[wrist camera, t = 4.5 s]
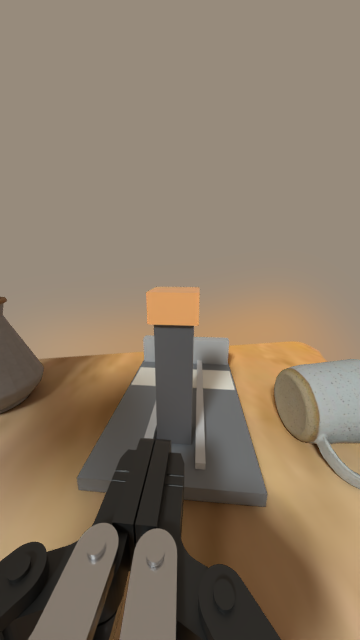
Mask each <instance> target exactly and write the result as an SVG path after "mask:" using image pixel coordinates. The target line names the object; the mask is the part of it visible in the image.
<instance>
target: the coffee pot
mask: <svg viewBox="0 0 360 640" xmlns="http://www.w3.org/2000/svg"><path fill="white" fill-rule="evenodd" d="M6 301H7V299H6V298H5V297H0V413H2V412H4V411H7V410H9V409H11V408H13V407H15V406H16V405H18V404H20V403H21V402H22V401H24V400H25V399H26V398H27V397H28V396H29V394H30V393H31V392H32V391H33V390H34V388H35V387H36V386H37V385H38V383H39V382H40V381H41V378H42V375H43V371H44V368H43V366H42V364H41V362H40V361H39V360H38V359H37V357H36V356H35V355H34V354H33V352H32V351H31V350H30V349H29V347H28V346H27V345H26V344H25V342H24V341H23V340H22V339H21V337H20V336H19V335H18V334H17V333H16V331H15V330H14V329H13V328H12V326H11V325H10V324H9V322H8V321H7V320H6V319H5V317H4V316H3V303H4V302H6Z"/></svg>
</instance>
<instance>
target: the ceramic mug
mask: <svg viewBox="0 0 360 640" xmlns="http://www.w3.org/2000/svg"><path fill="white" fill-rule="evenodd" d="M274 396H275V402H276V406H277V410H278V413H279V416H280V418H281V420H282V422H283V424H284V425H285V427H286V428H287V429H288V431H289V432H290V433H291V434H292V435H293V436H295V437H296V438H297V439H299V440H301V441H304V442H309V443H315V444H317V445H318V447H319V449H320V452H321V454H322V456H323V458H324V459H325V460H326V461H327V463H328V464H329V465H330V467H331V468H332V469H333V470H334V472H335V473H336V474H337V475H339V476H340V477H341V478H342V479H343V480H345V481H346V482H347V483H349V484H350V485H352V486H354V487H356V488H358V489H360V475H359V474H357V473H355V472H353V471H352V470H351V469H349V468H348V467H347V466H346V465H345V464H344V463H343V462H342V461H341V460H340V459H339V457H338V456H337V454H336V453H335V452H334V450H333V449H332V448H331V445H330V444H332V443H360V360H357V359H348V360H340V361H333V362H323V363H316V364H304V365H298V366H293V367H290V368H287V369H284V370H283V371H281V372H280V373H279V375H278V376H277V379H276V382H275V388H274Z"/></svg>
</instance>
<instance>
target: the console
mask: <svg viewBox="0 0 360 640" xmlns="http://www.w3.org/2000/svg"><path fill="white" fill-rule="evenodd" d="M228 350H229V340H228V338H210V337H209V338H208V337H194V348H193V397H192V433H191V445H185V444H171V453H181V455H182V458H183V461H184V463H185V467H184V500H195V501H206V502H217V503H228V504H239V505H250V506H261V507H266V500H267V491H266V488H265V485H264V481H263V478H262V474H261V471H260V468H259V464H258V461H257V458H256V454H255V451H254V448H253V444H252V441H251V438H250V434H249V431H248V428H247V424H246V421H245V417H244V414H243V411H242V407H241V404H240V401H239V397H238V394H237V391H236V387H235V384H234V381H233V377H232V374H231V371H230V367H229V364H228ZM140 438H150V439H157V417H156V382H155V346H154V336H145V337H144V361H143V363H142V364H141V366H140V368H139V370H138V371H137V373H136V375H135V377H134V378H133V380H132V382H131V384H130V385H129V387H128V389H127V391H126V392H125V394H124V396H123V398H122V399H121V401H120V403H119V405H118V406H117V408H116V410H115V412H114V413H113V415H112V417H111V419H110V420H109V422H108V424H107V426H106V427H105V429H104V431H103V433H102V434H101V436H100V438H99V440H98V441H97V443H96V445H95V447H94V449H93V450H92V452H91V454H90V456H89V457H88V459H87V461H86V463H85V464H84V466H83V468H82V470H81V471H80V473H79V475H78V477H77V482H78V489H79V490H86V491H97V492H107V490H108V487H109V485H110V482H111V481H112V477H113V475H114V472H115V470H116V467H117V465H118V462H119V460H120V458H121V457H122V456H123V455H124V453H125V452H126V451H127V450H128V449H130V450H136V449H137V446H138V443H139V440H140Z"/></svg>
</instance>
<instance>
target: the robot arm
mask: <svg viewBox="0 0 360 640" xmlns="http://www.w3.org/2000/svg"><path fill="white" fill-rule="evenodd" d="M184 467H185V463H184V461H183V458H182V455H181V453H171V440H166V439H150V438H140V440H139V443H138V446H137V449H136V450H130V449H128V450H127V451H126V452H125V453H124V455H123V456H122V457H121V458H120V460H119V462H118V465H117V467H116V470H115V472H114V475H113V477H112V481H111V482H110V485H109V487H108V490H107V492H106V495H105V497H104V500H103V502H102V504H101V507H100V509H99V512H98V514H97V517H96V519H95V521H94V523H93V525H92V527H90V528H89V529H88V530H87V531H85V533H84V534H83V535H82V536H81V537H80V539H79V540H78V541H77V542H75V543H73V544H71V545H68V546H65V547H62V548H58V549H55V550H52V551H48V552H46V548H45V547H44V545H43V544H41V543H39V542H30V543H27V544H24V545H22V546H20V547H19V548H17V549H16V550H14V551H13V552H12V553H10V554H9V555H8V556H7V557H5V558H4V559H3V560H1V561H0V640H113V638H114V634H115V630H116V627H117V623H118V619H119V616H120V612H121V608H122V604H123V598H124V589H125V585H126V581H127V576H128V572H129V571H131V573H130V579H129V585H128V591H127V597H126V603H125V609H124V615H123V621H122V627H121V633H120V639H119V640H281V639H280V637H279V636H278V634H277V633H276V631H275V630H274V628H273V627H272V625H271V624H270V622H269V621H268V619H267V618H266V616H265V615H264V613H263V611H262V610H261V608H260V607H259V605H258V604H257V602H256V601H255V599H254V598H253V596H252V595H251V593H250V592H249V590H248V589H247V587H246V586H245V584H244V582H243V581H242V579H241V578H240V577H239V575H238V574H237V573H236V572H235V571H234V570H233V569H231V568H230V567H228V566H226V565H222V564H217V565H213V566H211V567H210V568H208V567H206V566H205V565H203V564H201V563H200V562H198V561H196V560H195V559H193V558H192V557H191V556H190V555H189V554H188V553H187V551H186V550H185V548H184V546H183V544H182V541H181V531H182V516H183V500H184Z"/></svg>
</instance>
